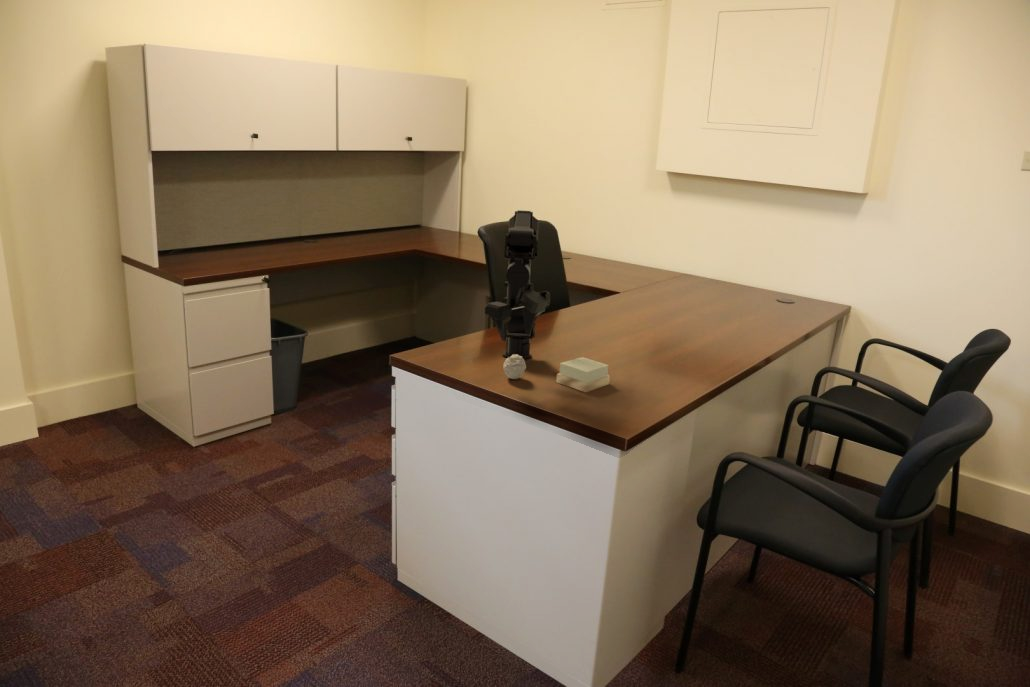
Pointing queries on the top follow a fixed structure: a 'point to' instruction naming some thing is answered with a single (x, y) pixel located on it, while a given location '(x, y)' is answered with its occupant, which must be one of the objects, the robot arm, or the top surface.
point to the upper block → (583, 369)
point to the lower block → (582, 383)
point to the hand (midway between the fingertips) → (516, 337)
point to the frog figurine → (514, 366)
